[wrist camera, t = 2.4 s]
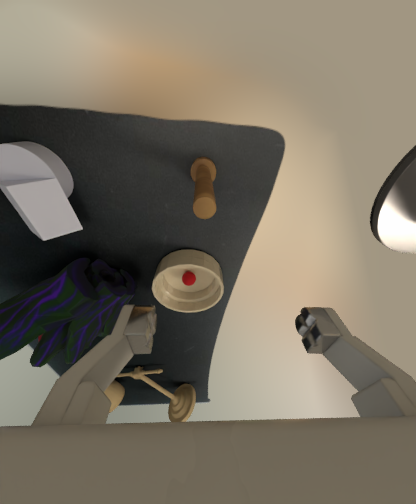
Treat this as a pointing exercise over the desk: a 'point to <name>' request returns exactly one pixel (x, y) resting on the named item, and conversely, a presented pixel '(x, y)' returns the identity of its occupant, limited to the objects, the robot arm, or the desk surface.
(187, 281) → the berry
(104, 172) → the desk surface
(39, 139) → the desk surface
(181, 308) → the bowl
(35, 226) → the wedge on round base
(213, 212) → the wooden pestle
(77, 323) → the decorative plant
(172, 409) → the desk lamp
